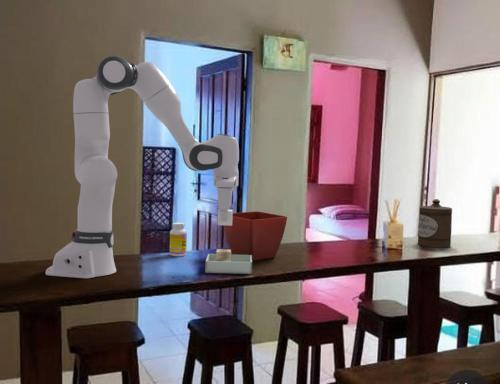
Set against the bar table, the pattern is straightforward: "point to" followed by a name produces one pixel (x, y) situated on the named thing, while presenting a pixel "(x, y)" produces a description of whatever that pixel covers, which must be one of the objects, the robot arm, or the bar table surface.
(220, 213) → the white cube
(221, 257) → the beech block
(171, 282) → the bar table surface
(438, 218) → the wooden container
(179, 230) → the supplement bottle
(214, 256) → the tray
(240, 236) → the plant pot
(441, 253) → the bar table surface
